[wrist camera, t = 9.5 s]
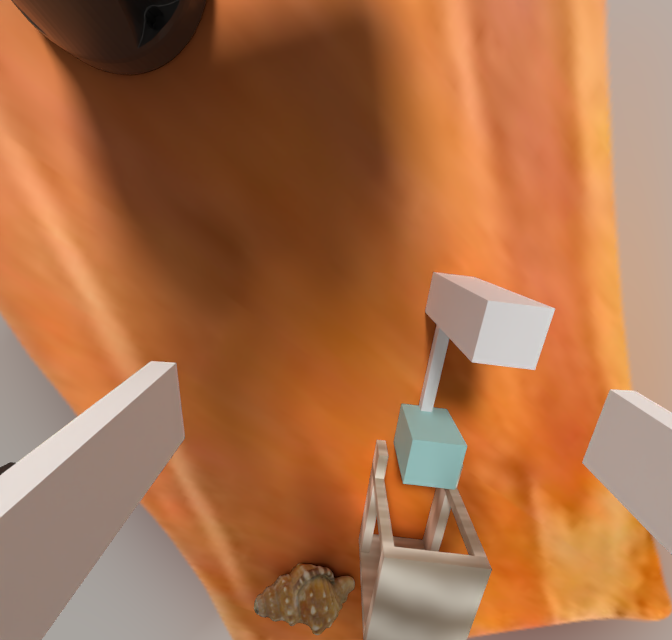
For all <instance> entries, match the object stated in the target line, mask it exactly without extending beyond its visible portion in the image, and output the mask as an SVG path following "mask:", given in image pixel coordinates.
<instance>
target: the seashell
mask: <svg viewBox="0 0 672 640" xmlns="http://www.w3.org/2000/svg"><path fill="white" fill-rule="evenodd" d="M354 587H355V582H354V579H353V578H352V577H350V576H342V577H338V578H334V575H333V573H332V571H331V570H330V569H329V568H327V567H321V566H314V565H312V564H302V563H300V564H297V566H296V567H294V568H293V569H292V572H291V573H290V574H285V575H281V576H279V577H278V578H277V580H276V581H275V583H274V584H272V585H271V586H268V587H266V589H265V590H264V592H263V593H262V594H259V595H258V596H257V598H256V600H255V604H254V610H255V612H256V613H257V614H259V615H260V616H261V617H265V618H266V617H269V618H270V619H271V620H273V621H280V620H283V621H286V622H287V623H289V625H290V626H293V625H295V624H296V623H304V624H306V625H308V626H309V627H310V628H311V630H312V631H313V634H315V635H319V634H321V633H322V632H323V631H324V630H325V629H326V628H329V627H330V626H331V625H332V623H333V621H334V620H335V619H336V617H337V616H338V612H339V610H340V609H342V603H344V602H346V600H347V596H348V594H349V593H350V592H351V591H352V590H354Z"/></svg>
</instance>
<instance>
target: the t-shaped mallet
mask: <svg viewBox="0 0 672 640" xmlns="http://www.w3.org/2000/svg"><path fill="white" fill-rule="evenodd" d="M554 311H555V308H552V307H550V306H547V305H545V304H542V303H539V302H537V301H534V300H532V299H529V298H527V297H524V296H522V295H519V294H517V293H514V292H511V291H509V290H506V289H504V288H501V287H499V286H496V285H494V284H491V283H489V282H486V281H483V280H481V279H478V278H476V277H470V276H462V275H454V274H445V273H437V272H433V276H432V281H431V286H430V290H429V295H428V300H427V305H426V310H425V313H426V314H427V315H428V316H429V317H430V318H431V319H432V320H433V321H434V322H435V323H436V324H437V325H436V329H435V334H434V339H433V343H432V348H431V352H430V357H429V361H428V366H427V370H426V375H425V379H424V384H423V388H422V393H421V397H420V402H419V406H417V405H409V404H401V408H400V413H399V418H398V423H397V428H396V433H395V438H394V446H395V450H396V455H397V459H398V463H399V468H400V472H401V477H402V481H403V484H411V485H419V486H428V487H437V488H445V489H454V490H455V488H456V484H457V481H458V477H459V474H460V470H461V467H462V463H463V460H464V456H465V452H466V449H467V444H466V443H465V441H464V439H463V437H462V435H461V434H460V432H459V430H458V428H457V426H456V425H455V423H454V421H453V419H452V417H451V416H450V414H449V412H448V410H447V409H443V408H434V407H433V406H434V402H435V397H436V393H437V389H438V385H439V380H440V376H441V372H442V368H443V364H444V359H445V355H446V351H447V347H448V342H449V338H450V339H451V340H452V342H453V343H454V344H455V345H456V346H457V347H458V348H459V349H460V350H461V351H462V352H463V353H464V354H465V356H466V357H467V358H468V359H469V360H470V361H471V362H473V363H482V364H490V365H498V366H507V367H515V368H523V369H532V370H535V368H536V365H537V362H538V359H539V356H540V353H541V350H542V347H543V344H544V341H545V338H546V335H547V332H548V329H549V326H550V323H551V320H552V317H553V314H554Z"/></svg>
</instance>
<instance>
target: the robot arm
mask: <svg viewBox="0 0 672 640" xmlns="http://www.w3.org/2000/svg"><path fill="white" fill-rule="evenodd" d="M12 2H13V3H14V4H15V5H16V7H17V8H18V9H19V10H20V11H21V13H22V14H23V15H24V16H25V17H26V18H27V19H28V21H29V22H30V23H31V24H32V25H33V26H34V27H35V28H37V29H38V30H39V31H40V32H41V33H42V34H43V35H45V36H46V37H47V38H48V39H49V40H51V41H52V42H53V43H55V44H56V45H58V46H59V47H61V48H62V49H64V50H65V51H67V52H69V53H70V54H72V55H73V56H75V57H77V58H78V59H80V60H81V61H83V62H85V63H87V64H89V65H91V66H93V67H95V68H97V69H100V70H103V71H107V72H111V73H116V74H140V73H145V72H148V71H152V70H154V69H156V68H159V67H161V66H163V65H164V64H166V63H167V62H169V61H170V60H172V59H173V58H174V57H175V56H176V55H177V54H178V53H180V51H181V50H182V49H183V48H184V47H185V46H186V44H187V43H188V42H189V40H190V39H191V37H192V36H193V34H194V32H195V30H196V28H197V26H198V24H199V22H200V19H201V16H202V13H203V10H204V7H205V3H206V0H12ZM184 439H185V434H184V425H183V416H182V408H181V399H180V390H179V382H178V373H177V365H176V363H173V362H157V361H151V362H149V363H148V364H147V365H145V366H144V367H143V368H141V369H140V370H139V371H137V372H136V373H135V374H133V375H132V376H131V377H129V378H128V379H127V380H125V381H124V382H123V383H122V384H120V385H119V386H118V387H116V388H115V389H114V390H112V391H111V392H110V393H108V394H107V395H106V396H104V397H103V398H102V399H100V400H99V401H98V402H96V403H95V404H94V405H92V406H91V407H90V408H88V409H87V410H86V411H84V412H83V413H82V414H81V415H79V416H78V417H77V418H75V419H74V420H73V421H71V422H70V423H69V424H67V425H66V426H65V427H63V428H62V429H61V430H59V431H58V432H57V433H55V434H54V435H53V436H51V437H50V438H49V439H47V440H46V441H45V442H44V443H42V444H41V445H40V446H38V447H37V448H36V449H34V450H33V451H32V452H30V453H29V454H28V455H26V456H25V457H24V458H22V459H21V460H20V461H18V462H17V463H8V464H6V465H4V466H2V467H0V640H42V638H43V637H44V636H45V634H46V633H47V631H48V630H49V629H50V627H51V626H52V624H53V623H54V622H55V620H56V619H57V617H58V616H59V614H60V613H61V612H62V610H63V609H64V607H65V606H66V605H67V603H68V602H69V600H70V599H71V597H72V596H73V595H74V593H75V592H76V590H77V589H78V588H79V586H80V585H81V584H82V582H83V581H84V579H85V578H86V577H87V575H88V574H89V572H90V571H91V569H92V568H93V567H94V565H95V564H96V562H97V561H98V560H99V558H100V557H101V555H102V554H103V553H104V551H105V550H106V548H107V547H108V546H109V544H110V543H111V541H112V540H113V539H114V537H115V536H116V534H117V533H118V532H119V530H120V529H121V527H122V526H123V524H124V523H125V522H126V520H127V519H128V517H129V516H130V515H131V513H132V512H133V510H134V509H135V508H136V506H137V505H138V503H139V502H140V501H141V499H142V498H143V496H144V495H145V494H146V492H147V491H148V489H149V488H150V487H151V485H152V484H153V482H154V481H155V480H156V478H157V477H158V475H159V474H160V473H161V471H162V470H163V468H164V467H165V466H166V464H167V463H168V461H169V460H170V458H171V457H172V456H173V454H174V453H175V451H176V450H177V449H178V447H179V446H180V444H181V443H182V442H183V440H184ZM582 463H583V464H584V465H585V466H586V467H587V468H588V469H589V470H590V471H591V472H592V474H593V475H594V476H595V477H596V478H597V479H598V480H599V481H600V482H601V483H602V484H603V485H604V486H605V487H606V488H607V489H608V490H609V491H610V492H611V493H612V494H613V495H614V496H615V497H616V498H617V499H618V500H619V501H620V502H621V503H622V504H623V506H624V507H625V508H626V509H627V510H628V511H629V512H630V513H631V514H632V515H633V516H634V517H635V518H636V519H637V520H638V521H639V522H640V523H641V524H642V525H643V526H644V527H645V528H646V529H647V530H648V531H649V532H650V533H651V534H652V535H653V536H654V538H655V539H657V541H658V542H659V543H660V544H661V545H662V546H663V547H664V548H665V549H666V550H667V551H668V552H669V553H670V554H671V555H672V413H671V412H670V411H668V410H666V409H665V408H663V407H661V406H660V405H658V404H656V403H655V402H653V401H651V400H650V399H648V398H646V397H645V396H643V395H641V394H640V393H638V392H636V391H628V390H611V389H610V391H609V394H608V396H607V399H606V401H605V404H604V407H603V409H602V412H601V415H600V417H599V420H598V422H597V425H596V428H595V430H594V433H593V435H592V438H591V441H590V443H589V446H588V449H587V451H586V454H585V456H584V459H583V462H582Z"/></svg>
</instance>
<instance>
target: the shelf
mask: <svg viewBox="0 0 672 640" xmlns="http://www.w3.org/2000/svg"><path fill="white" fill-rule="evenodd" d="M387 461H388V451H387V446H386V441H384V440H377V442H376V447H375V453H374V458H373V464H372V469H371V475H370V480H369V486H368V491H367V497H366V502H365V508H364V513H363V519H362V524H361V530H360V535H359V552H360V575H361V597H362V620H363V640H467V637H468V635H469V632H470V629H471V626H472V624H473V621H474V618H475V615H476V612H477V610H478V607H479V604H480V601H481V598H482V596H483V593H484V590H485V587H486V585H487V582H488V579H489V576H490V573H491V571H492V568H491V566H490V564H489V561H488V559H487V557H486V554H485V552H484V550H483V547H482V545H481V543H480V540H479V538H478V536H477V533H476V531H475V529H474V526H473V524H472V522H471V519H470V517H469V515H468V512H467V510H466V508H465V505H464V503H463V501H462V498H461V496H460V494H459V491H458V489H457V485H458V482H459V478H460V475H461V471H462V468H463V463H462V467H461V470H460V474H459V477H458V481H457V484H456V488H455V490H454V489H445V488H437V487H436V490H435V494H434V498H433V502H432V506H431V510H430V513H429V517H428V521H427V525H426V529H425V533H424V537H423V540H420V539H411V538H402V537H394V536H393V534H392V528H391V521H390V515H389V508H388V502H387V495H386V489H385V482H384V476H385V471H386V466H387ZM451 509H452V511H453V514H454V517H455V519H456V522H457V525H458V527H459V530H460V533H461V535H462V538H463V541H464V543H465V546H466V549H467V551H468V554H469V555H463V554H454V553H446V552H439V548H440V545H441V541H442V538H443V534H444V531H445V527H446V524H447V520H448V517H449V513H450V510H451ZM376 517H377V522H378V531H379V535H376V534H373V532H374V527H375V522H376Z"/></svg>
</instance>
